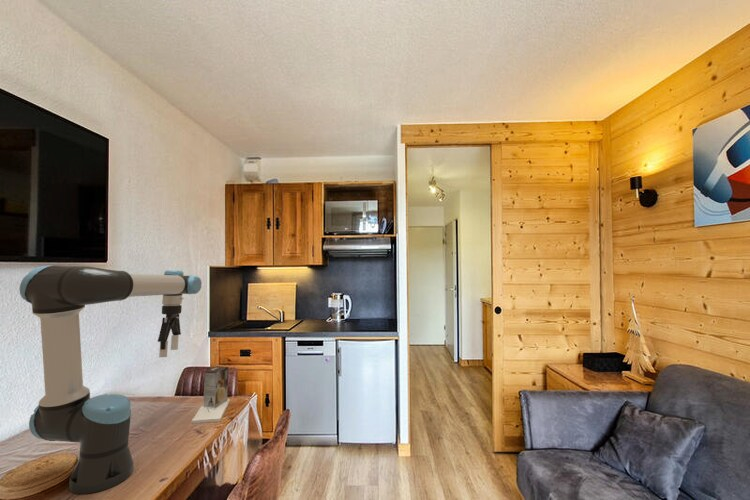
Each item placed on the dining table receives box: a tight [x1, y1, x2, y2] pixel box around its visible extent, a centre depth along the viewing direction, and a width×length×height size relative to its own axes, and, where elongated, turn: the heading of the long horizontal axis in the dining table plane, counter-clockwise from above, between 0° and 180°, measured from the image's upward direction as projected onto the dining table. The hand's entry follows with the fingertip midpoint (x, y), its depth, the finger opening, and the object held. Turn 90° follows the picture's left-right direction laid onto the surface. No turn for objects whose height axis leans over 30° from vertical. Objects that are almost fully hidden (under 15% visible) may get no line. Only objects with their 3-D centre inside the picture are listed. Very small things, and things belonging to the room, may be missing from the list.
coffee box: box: [202, 365, 229, 408], centre depth 156 cm, size 9×6×16 cm
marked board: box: [191, 398, 231, 424], centre depth 150 cm, size 22×11×1 cm, turn 14°
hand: (168, 353), depth 147 cm, fingers open, 13 cm apart
